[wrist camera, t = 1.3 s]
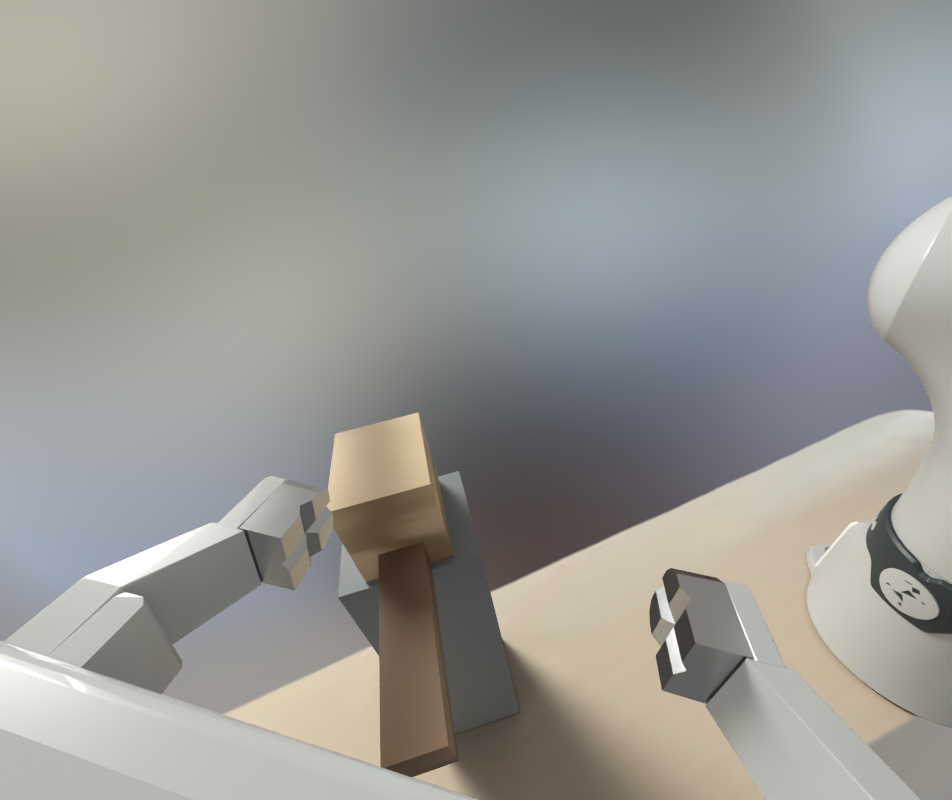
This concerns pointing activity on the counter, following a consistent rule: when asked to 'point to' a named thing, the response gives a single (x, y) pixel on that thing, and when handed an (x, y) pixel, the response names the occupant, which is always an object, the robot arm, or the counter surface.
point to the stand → (451, 619)
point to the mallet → (399, 580)
